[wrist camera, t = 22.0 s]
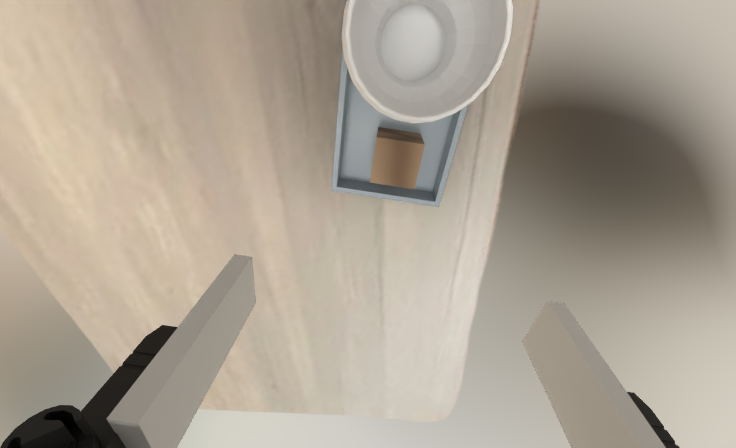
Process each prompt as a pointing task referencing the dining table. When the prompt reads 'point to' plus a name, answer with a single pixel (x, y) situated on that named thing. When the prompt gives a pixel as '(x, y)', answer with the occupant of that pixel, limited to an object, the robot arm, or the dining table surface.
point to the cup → (424, 53)
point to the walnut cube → (397, 158)
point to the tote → (360, 139)
